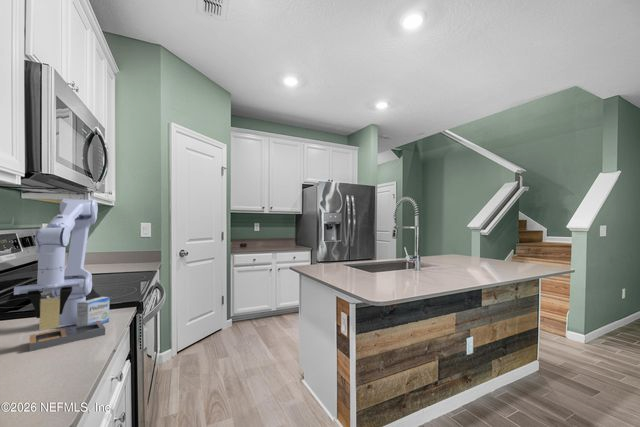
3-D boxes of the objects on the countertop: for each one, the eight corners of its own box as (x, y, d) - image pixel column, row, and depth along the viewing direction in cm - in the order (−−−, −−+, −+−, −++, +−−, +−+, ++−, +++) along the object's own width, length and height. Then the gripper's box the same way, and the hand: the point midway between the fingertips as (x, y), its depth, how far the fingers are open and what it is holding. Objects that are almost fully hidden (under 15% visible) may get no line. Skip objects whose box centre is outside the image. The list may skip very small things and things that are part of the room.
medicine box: (86, 329, 92) (87, 302, 93) (75, 328, 93) (76, 302, 93) (109, 321, 100) (110, 296, 100) (99, 320, 101) (99, 296, 101)
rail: (29, 342, 81) (29, 335, 81) (100, 328, 93) (100, 321, 93) (29, 351, 76) (29, 343, 76) (105, 334, 88) (105, 327, 88)
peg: (39, 327, 81) (40, 299, 82) (58, 323, 84) (59, 296, 85) (39, 330, 79) (40, 301, 79) (58, 327, 81) (60, 299, 82)
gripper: (14, 272, 74) (11, 325, 74) (85, 267, 85) (83, 312, 84) (15, 270, 79) (13, 319, 79) (82, 264, 90) (80, 308, 89)
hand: (49, 315), depth 82 cm, fingers closed on peg, 4 cm apart
